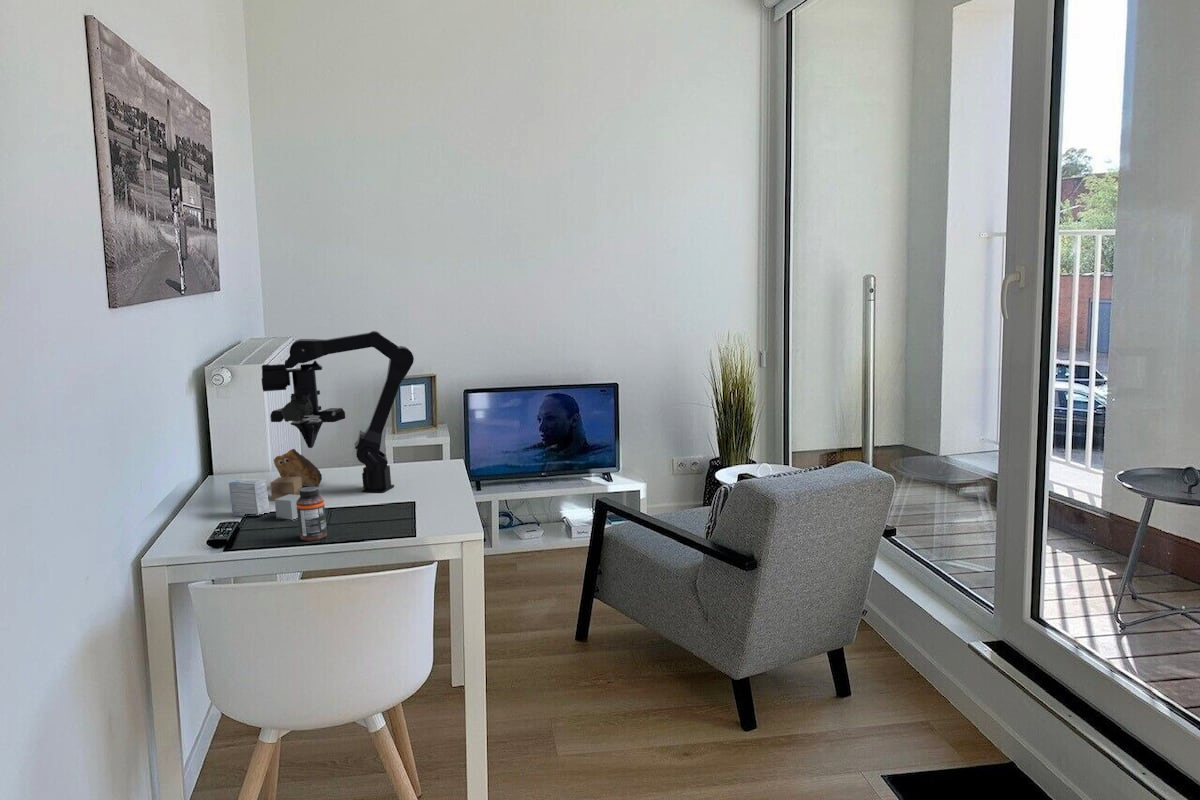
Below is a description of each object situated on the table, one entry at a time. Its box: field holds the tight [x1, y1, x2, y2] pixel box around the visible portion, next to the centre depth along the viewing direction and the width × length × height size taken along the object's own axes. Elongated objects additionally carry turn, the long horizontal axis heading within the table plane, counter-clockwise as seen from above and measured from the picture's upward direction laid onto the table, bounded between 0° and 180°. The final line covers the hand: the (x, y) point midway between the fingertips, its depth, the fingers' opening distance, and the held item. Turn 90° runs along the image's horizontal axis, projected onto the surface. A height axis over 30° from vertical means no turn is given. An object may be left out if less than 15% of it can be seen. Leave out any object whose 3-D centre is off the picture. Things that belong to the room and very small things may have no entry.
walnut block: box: [269, 476, 303, 502], centre depth 257 cm, size 6×6×5 cm
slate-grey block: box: [274, 494, 300, 521], centre depth 237 cm, size 5×5×5 cm
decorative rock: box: [273, 448, 323, 487], centre depth 269 cm, size 12×6×11 cm, turn 96°
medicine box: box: [228, 477, 271, 517], centre depth 241 cm, size 8×4×9 cm, turn 71°
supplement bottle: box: [296, 486, 328, 542], centre depth 219 cm, size 6×6×11 cm
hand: (310, 447), depth 255 cm, fingers closed
